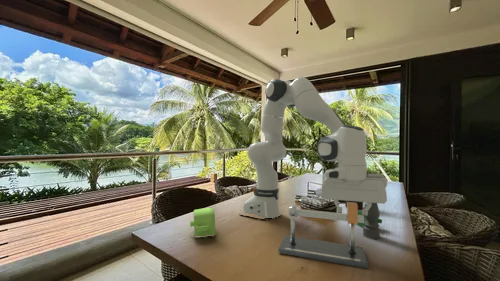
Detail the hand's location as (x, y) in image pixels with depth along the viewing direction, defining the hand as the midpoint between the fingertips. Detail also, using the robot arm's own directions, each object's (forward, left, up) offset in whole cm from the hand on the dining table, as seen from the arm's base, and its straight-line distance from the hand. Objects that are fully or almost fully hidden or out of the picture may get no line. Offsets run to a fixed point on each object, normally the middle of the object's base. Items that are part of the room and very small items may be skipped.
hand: (352, 213), depth 77 cm
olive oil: (+6, +65, -15) cm, 67 cm away
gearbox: (-59, +1, -15) cm, 61 cm away
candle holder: (+9, +22, -15) cm, 28 cm away
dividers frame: (-9, +2, -13) cm, 16 cm away
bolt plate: (-10, 0, -15) cm, 18 cm away
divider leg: (0, 0, -13) cm, 13 cm away
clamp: (+9, +34, -15) cm, 38 cm away
